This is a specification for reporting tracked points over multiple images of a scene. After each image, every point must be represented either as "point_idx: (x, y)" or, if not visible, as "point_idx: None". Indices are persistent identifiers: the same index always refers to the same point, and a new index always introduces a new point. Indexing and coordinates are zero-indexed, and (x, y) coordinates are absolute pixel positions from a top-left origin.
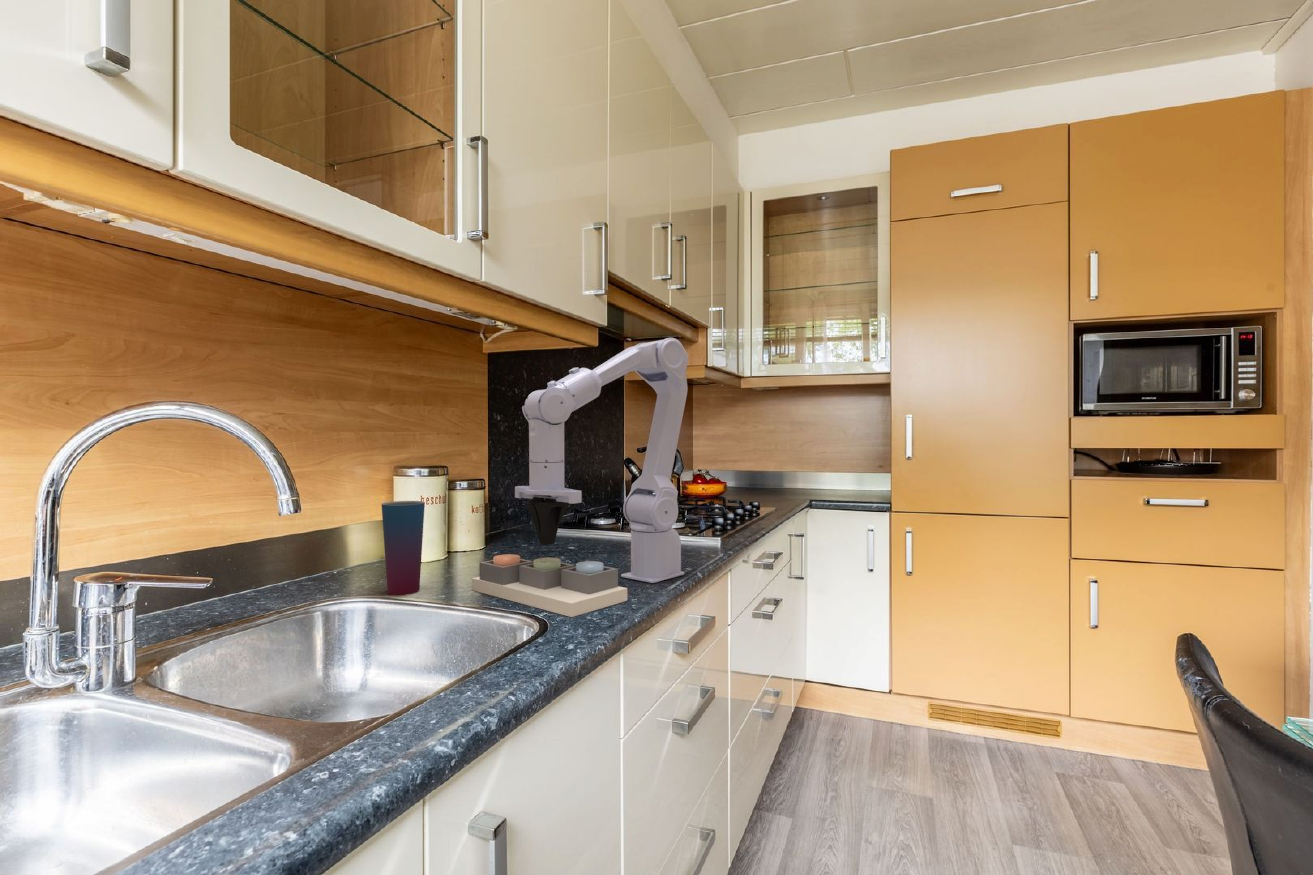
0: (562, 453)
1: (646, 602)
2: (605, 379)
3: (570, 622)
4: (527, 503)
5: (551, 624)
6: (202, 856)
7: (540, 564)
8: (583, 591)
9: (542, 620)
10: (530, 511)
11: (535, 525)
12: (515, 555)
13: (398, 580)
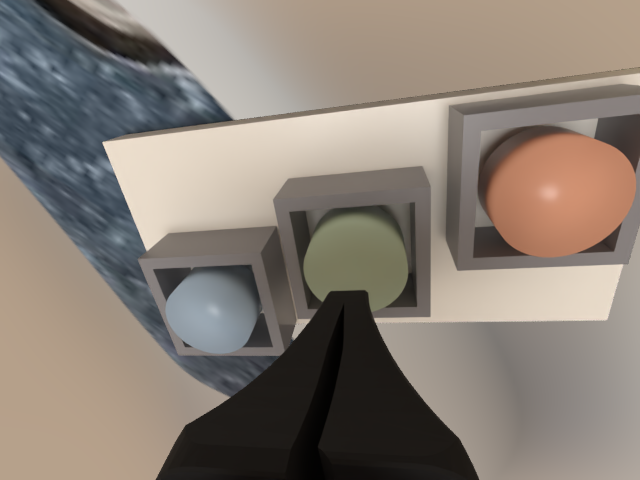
0: None
1: (160, 320)
2: None
3: (87, 105)
4: (412, 467)
5: (89, 52)
6: None
7: (331, 226)
8: (186, 233)
9: (135, 54)
10: (402, 408)
11: (377, 343)
12: (547, 245)
13: None
